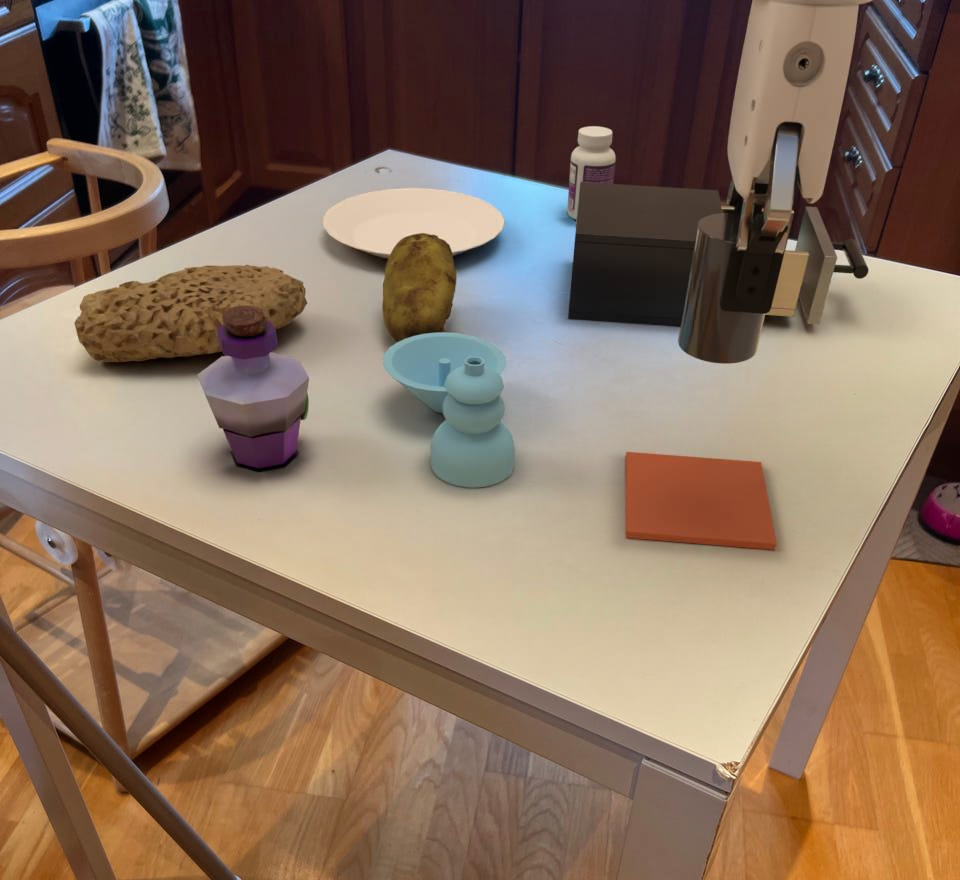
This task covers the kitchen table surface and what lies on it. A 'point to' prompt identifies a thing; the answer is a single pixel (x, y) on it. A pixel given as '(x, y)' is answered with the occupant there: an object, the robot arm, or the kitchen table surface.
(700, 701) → the kitchen table surface
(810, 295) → the drawer
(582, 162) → the pill bottle
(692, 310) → the dark glossy cylinder
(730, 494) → the mat
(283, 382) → the potion bottle
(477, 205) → the plate
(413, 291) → the potato
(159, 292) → the sponge
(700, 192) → the dark brown box
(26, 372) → the kitchen table surface
